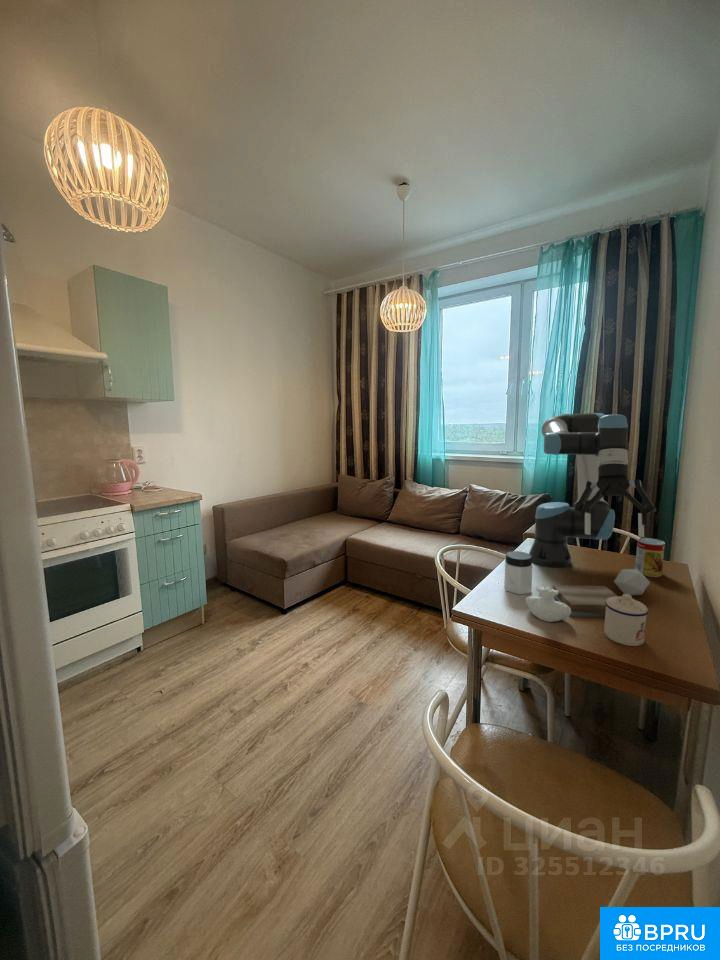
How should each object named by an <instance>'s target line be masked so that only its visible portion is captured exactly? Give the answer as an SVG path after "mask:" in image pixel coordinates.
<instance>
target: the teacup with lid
mask: <svg viewBox="0 0 720 960" xmlns="http://www.w3.org/2000/svg"><path fill="white" fill-rule="evenodd" d="M632 596H633V595H629V594H624V593H623V594H622V596H618V597H610V598H608V599H607V600H606V602H605V604H606V613H605V617H604V626H603V627H604V628H603V629H604V630H603V632H604V635H605V636H606V637H607V638H608V639H609V640H611V641H613V642H615V643H617V644H621V645H622V646H623V645H624V646H629V647H630V646H631V647H637V646H641V645H643V644H644V643H645V635H646V624H647V615H648V614H649V609H648V607H647V606H646V605H645V604H644V603H642V602H641V601H639V600H636V599H634V598H633V597H632Z"/></svg>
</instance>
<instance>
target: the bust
mask: <svg viewBox="0 0 720 960" xmlns="http://www.w3.org/2000/svg"><path fill="white" fill-rule="evenodd" d="M535 588H536V591H537V592H538V596H534V595H530V596H527V597H526V598H525V599H524V600H525V603H526V606H528V609H529V611H531V612H532V614H533V616H535V617H536V618H538V619H539V620H542V621H544V622H548V623H553V622H560V621H565V620H568V619H569V617H570V614H571V609H570V607H569V606H567V605H566V604H564V603H560V602H557V601H555V599H554V596H555V595H558V593H559V591H558V590H554V589H553V588H552V587H551V586H546V585H544V586H539V585H537V586H536V587H535Z"/></svg>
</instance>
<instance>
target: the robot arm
mask: <svg viewBox="0 0 720 960" xmlns="http://www.w3.org/2000/svg"><path fill="white" fill-rule="evenodd" d="M628 428H629V425H628V419H627V417H626V416H625V415H623V414H618V413H616V414H615V413H614V414H613V413H612V414H604V413H601V412H597V413H596V412H591V413H590V412H589V413H563V414H557V415H555V416H552V417H550V418H548V419H547V420H546V421H545V422H544V423H543V424H542V426H541V434H542V437H543V453H544V454H545V455H554V456H557V455H576V463H577V464H576V465H577V466H576V467H577V468H576V470H577V473H576V474H577V494H578V495H577V501H575V502H574V503H573V507H572V506H571V505H570V504H569V503H568V502H561V501H555V502H554V501H553V502H551V501H550V502H545V503H541V504H539V505H538V506H537V507H536V508H535V515H534V518H535V523H534V524H535V525H534V541H533V542H532V545H531V548H530V550H529V553H528V554H530V555H531V556H532V563H534V564H537V565H541V566H544V567H551V568H563V567H565V568H566V567H568V566H570V565H572V564H571V563H572V556H571V553H570V549H569V546H568V538H576V539H577V538H578V539H589V540H594V541H595V540H603V541H604V540H605V541H606V540H608V539H609V538H610V537H611V536H612V534H613V530H614V527H615V521H616V512H615V510H614V509H612V508H610V505H609V503H608V502H607V501H606V500H604V497H605V496H607V497H613V496H616V497H621V496H622V495H623V496H624V497H626V499H628V501H630V503H632V505H634V506H635V507H636V508H637V509H638V510H639V511H640V512H638V514H637V518H638V519H637V521H638V523H637V525H638V526H637V527H638V528H637V530H638V537H639V538H645V526H648V525H649V514H651V513H654V512H657V508H656V507H655V505H654V503H653V502H652V500H651V499H650V497H649V495H648V494H647V492H646V491H645V489H644V488H643V484H642V481H641V480H640V479H639V478H635V479H633V480H629V466H628V464H629V457H628V456H629V455H628V453H629V451H628V439H629V438H628ZM630 486H632V487H633V488H635V490H636V491H637V493H638V494H639V496H640V497H641V499H642V500H643V502H644V503H645V505H646V508H645V506H643V504H641V502H639V501H638V500H637V499H636V497H634V496H633V495H631V493H630V492H629V491H628V488H629V487H630Z"/></svg>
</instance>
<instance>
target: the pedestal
mask: <svg viewBox="0 0 720 960" xmlns="http://www.w3.org/2000/svg"><path fill="white" fill-rule="evenodd" d="M552 589H554V590H558V591H559V593H558V595H555V596H554V599H555V600H554V601H557V602H560V603H564V604H566V605H567V606H569V607H570V609H571V614H570V616H569V617H570V618H571V617H572V618H573V617H575V618H605V613H606V604H605V602H606V600H607V599H608V598H610V597H619V596H618V594H615V593H614V591H612V590H611V589H609V588H608V587H606V586H605V585H554V584H553V586H552Z"/></svg>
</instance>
